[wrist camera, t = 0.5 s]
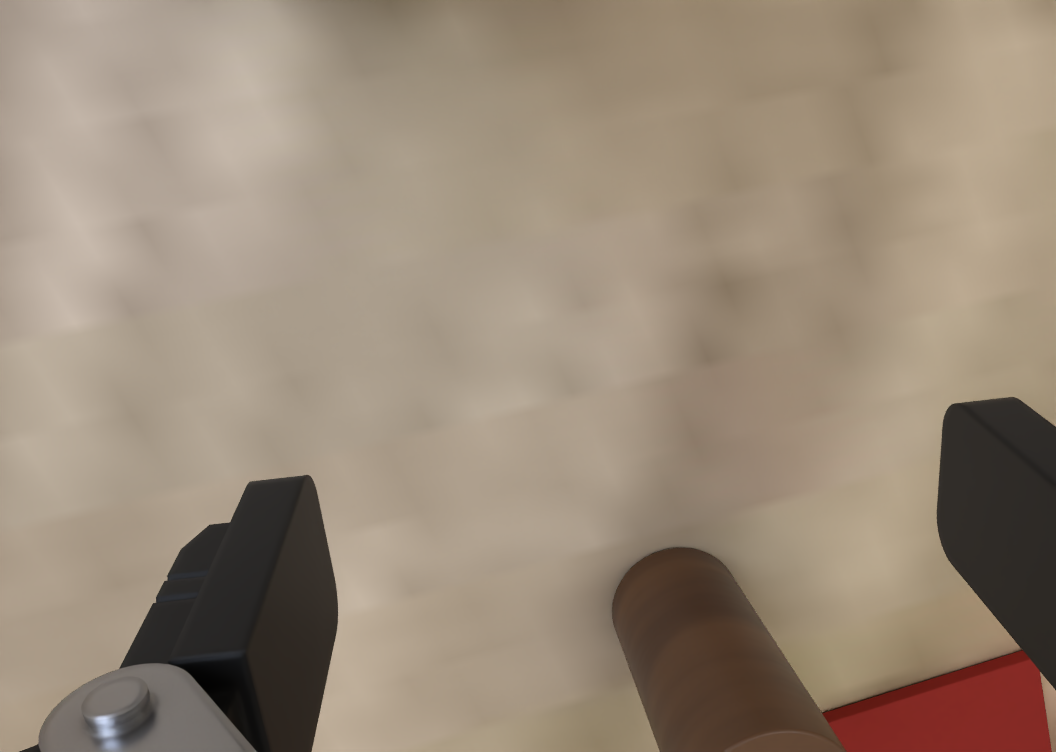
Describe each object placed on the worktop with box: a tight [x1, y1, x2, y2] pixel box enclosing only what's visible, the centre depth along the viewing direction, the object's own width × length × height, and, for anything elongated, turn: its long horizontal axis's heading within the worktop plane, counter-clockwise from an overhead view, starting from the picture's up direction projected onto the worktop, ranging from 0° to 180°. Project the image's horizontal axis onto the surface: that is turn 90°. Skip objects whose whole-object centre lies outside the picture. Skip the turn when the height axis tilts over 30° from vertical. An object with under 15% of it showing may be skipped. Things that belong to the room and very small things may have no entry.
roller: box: [612, 548, 847, 752], centre depth 29 cm, size 4×4×10 cm
